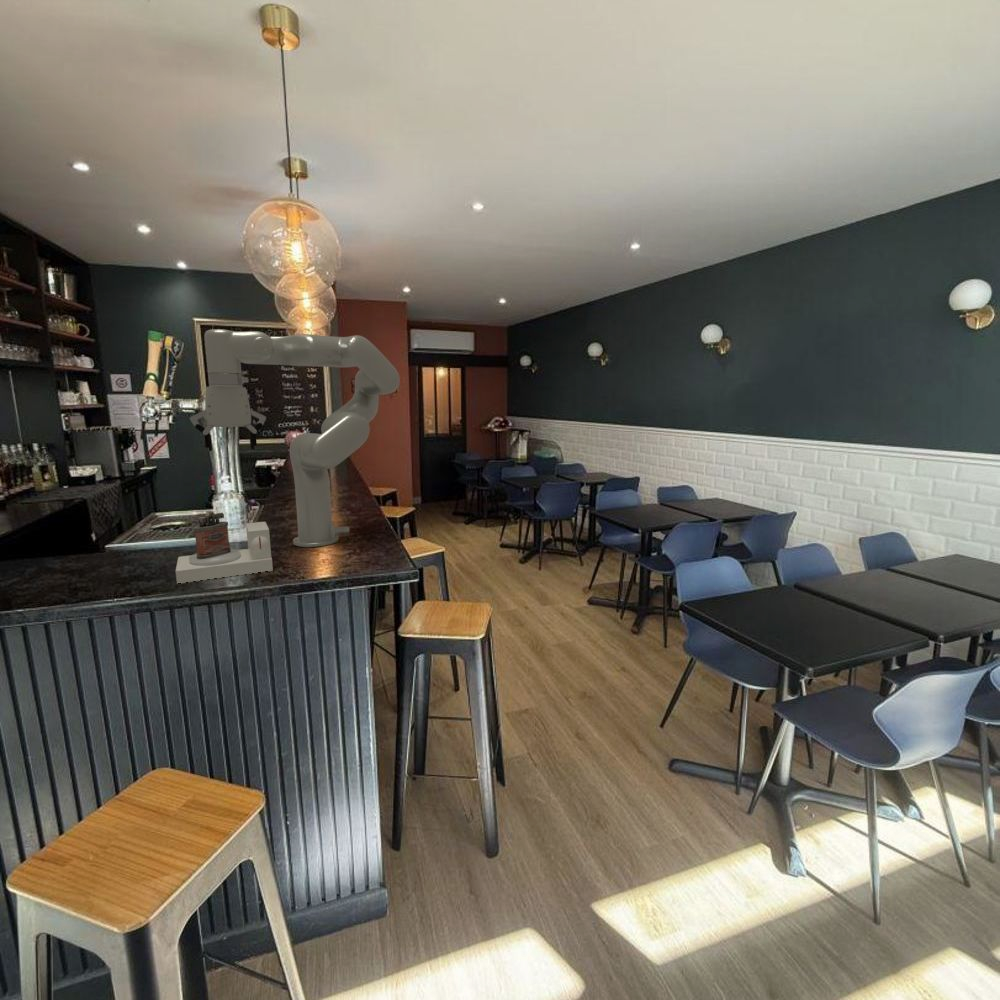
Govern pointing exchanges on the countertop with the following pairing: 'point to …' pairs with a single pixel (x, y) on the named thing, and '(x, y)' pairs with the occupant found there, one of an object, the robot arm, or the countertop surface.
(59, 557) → the countertop surface
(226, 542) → the lighter
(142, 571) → the countertop surface
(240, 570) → the kitchen scale
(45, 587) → the countertop surface
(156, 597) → the countertop surface
